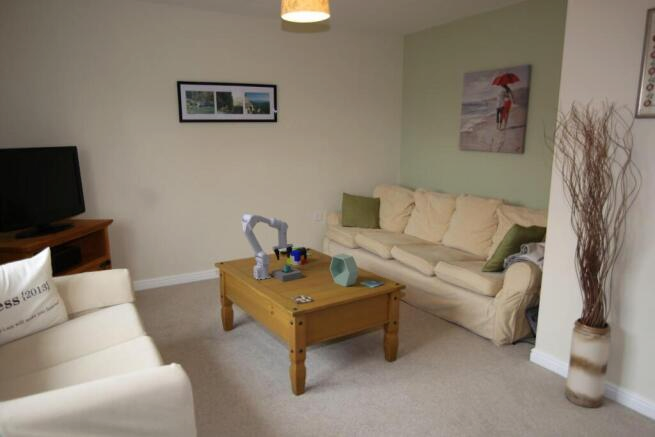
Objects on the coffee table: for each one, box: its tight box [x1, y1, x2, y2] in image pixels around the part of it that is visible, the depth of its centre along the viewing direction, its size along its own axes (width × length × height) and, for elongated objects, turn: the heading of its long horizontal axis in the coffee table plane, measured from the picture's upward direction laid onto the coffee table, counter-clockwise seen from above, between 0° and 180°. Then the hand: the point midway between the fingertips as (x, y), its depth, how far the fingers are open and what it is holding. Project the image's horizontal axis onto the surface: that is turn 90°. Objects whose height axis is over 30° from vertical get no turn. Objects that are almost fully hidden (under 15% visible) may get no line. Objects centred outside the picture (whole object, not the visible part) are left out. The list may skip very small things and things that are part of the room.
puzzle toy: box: [286, 247, 308, 267], centre depth 337 cm, size 10×10×10 cm
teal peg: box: [283, 264, 292, 273], centre depth 305 cm, size 4×4×7 cm
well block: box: [272, 266, 303, 283], centre depth 306 cm, size 14×14×4 cm
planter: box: [329, 253, 360, 288], centre depth 290 cm, size 17×8×21 cm
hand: (283, 258), depth 315 cm, fingers open, 7 cm apart
